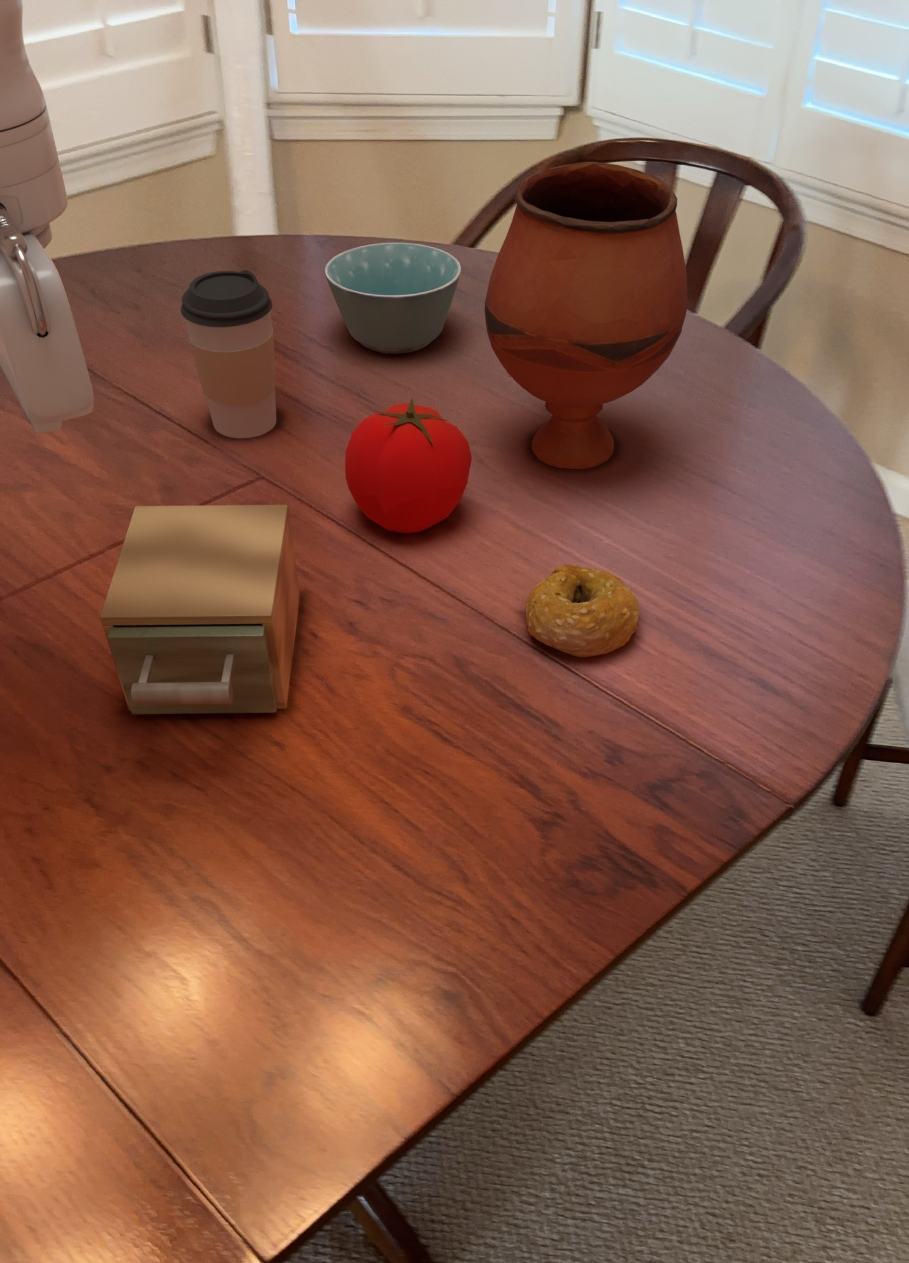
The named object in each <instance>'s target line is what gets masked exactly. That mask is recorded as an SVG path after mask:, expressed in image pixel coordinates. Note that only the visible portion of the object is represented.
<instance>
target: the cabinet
mask: <svg viewBox="0 0 909 1263" xmlns="http://www.w3.org/2000/svg"><path fill="white" fill-rule="evenodd" d="M289 512H290V510H289V505H288V504H225V505H224V504H221V505H220V504H219V505H218V504H216V505H212V504H210V505H208V504H207V505H135V506H134V509H133V512H132V515H131V518H130V522H129V525H128V528H127V531H126V534H125V537H124V540H123V544H122V547H121V550H120V553H119V556H118V560H117V563H116V566H115V569H114V572H113V575H112V579H111V581H110V585H109V587H108V590H107V594H106V598H105V600H104V604H103V607H102V610H101V613H100V616H99V619H100V622H101V625H102V628H103V631H104V635H105V638H106V641H107V645H108V648H109V651H110V654H111V658H112V660H113V663H114V667H115V670H116V673H117V676H118V679H119V683H120V685H121V689H122V693H123V695H124V699H125V703H126V705H127V708H128V711H129V712H131V710H130V707H129V704H128V700H127V697H126V694H125V691H124V687H123V684H122V681H121V678H120V675H119V671H118V668H117V665H116V662H115V658H114V655H113V652H112V649H111V646H110V642H109V639H108V636H109V632H110V629H111V627H127V625H195V624H262V626H265V630H266V636H267V642H268V648H269V654H270V660H271V666H272V672H273V678H274V684H275V690H276V696H277V702H278V703H277V710H281V709H282V710H286V709H287V706H288V699H289V690H290V682H291V675H292V674H291V673H292V666H293V657H294V650H295V643H296V642H295V641H296V633H297V625H298V617H299V607H300V602H301V592H300V586H299V578H298V571H297V563H296V556H295V548H294V541H293V540H294V539H293V535H292V534H293V532H292V526H291V517H290V513H289Z"/></svg>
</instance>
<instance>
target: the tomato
mask: <svg viewBox="0 0 909 1263" xmlns="http://www.w3.org/2000/svg"><path fill="white" fill-rule="evenodd" d="M413 399H414V398H413V397H411V399H410V401H409V403H408V402H407V403H406V402H404V403H397V404H396V403H395V404H392V405H391V406H390V407H389V408H387V409H386V410H385V411H383V412H382V411H376V410H372V412H373V414H371V415H369V416H367V417H365V418H363V419H362V420H361V421H360V422H359V423H358V424H357V426H356V427H355V429H354V430H353V432H352V433H351V435H350V438H349V440H348V443H347V446H346V449H345V452H344V453H345V455H344V472H345V473H344V474H345V480H346V485H347V488H348V490H349V493H350V494H351V496H352V498H353V500H354V502H355V504H356V505H357V506H358V507H359V509H360V510H361V512H363V513H364V515H365V516H366V517H367V519H369V520H370V521H372V522H374V524H377V525H379V526H380V527H382V528H383V529H385V530H386V531H389V532H395V533H400V534H413V533H421V532H423V531H425V530H428V529H429V528H431V527H433V526H435V525H437V524H438V523H441V522H443V521H444V520H446V519H447V518H448V517H449V516H450V514H451V513H452V512H453V511H454V509H455V508H456V507H457V506H458V505H459V503H460V502H461V500H462V497H463V495H464V492H465V490H466V488H467V485H468V483H469V477H470V471H471V465H472V460H473V457H472V452H471V447H470V442H469V440H468V439H467V438H466V436H465V435H464V434H463V433H462V431H461V430H460V429H459V427H458V426H457V425H455V424H452V423H451V422H449V421H450V420H448V419H444V418H443V416H442V415H441V414H440V412H438V411H437V410H436V409H434V408H432V407H430V406H424V405H418V404H414V400H413Z"/></svg>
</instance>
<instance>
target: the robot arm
mask: <svg viewBox="0 0 909 1263" xmlns="http://www.w3.org/2000/svg"><path fill="white" fill-rule="evenodd" d="M23 10H24V8H23V0H0V368H1V370H2V372H3V373H4V376H5V378H6V379H7V381H8V383H9V385H10V386H11V389H12V390H13V392H14V394H15V396H16V398H17V400H18V402H19V404H20V408H21V409H22V411H23V413H24V414H25V417H26V418H27V420H28V422H29V424H30V426H31V428H32V430H33V431H34V432H35V433H37V434H40V435H43V434H46V433H51V432H55V431H59V430H60V429H61V428H62V427H63V421H68V420H71V419H75V418H79V417H84V416H86V415H89V414H91V413H92V412H93V411H94V407H95V395H94V394H95V393H94V389H93V384H92V380H91V376H90V373H89V370H88V366H87V362H86V358H85V355H84V350H83V346H82V343H81V340H80V336H79V333H78V329H77V326H76V322H75V318H74V314H73V311H72V308H71V304H70V301H69V298H68V295H67V292H66V289H65V287H64V284H63V280H62V278H61V276H60V274H59V271H58V269H57V267H56V265H55V263H54V261H53V260H52V259H51V257H50V256H49V254H48V253H47V251H46V250H45V249H46V248H47V247H48V245H49V244H50V243H51V241H52V239H53V233H52V228H51V223H52V222H54V221H55V220H57V219H58V218H59V217H60V216H62V215H63V213H64V212H65V210H66V209H67V208H68V202H69V198H68V194H67V189H66V185H65V181H64V177H63V176H64V175H63V171H62V167H61V164H60V163H61V162H60V159H59V154H58V151H57V145H56V141H55V136H54V133H53V128H52V124H51V120H50V116H49V111H48V106H47V103H46V102H47V101H46V98H45V94H44V91H43V89H42V86H41V84H40V82H39V80H38V78H37V77H36V74H35V72H34V70H33V68H32V66H31V64H30V60H29V57H28V54H27V50H26V46H25V42H24V34H23V13H24V12H23Z"/></svg>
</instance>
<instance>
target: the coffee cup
mask: <svg viewBox="0 0 909 1263" xmlns="http://www.w3.org/2000/svg"><path fill="white" fill-rule="evenodd" d="M181 303H182V304H181V306H180V314H181V316H182V317H183V318H184V321H185V324H186V327H187V328H186V329H187V338H188V342H189V346H190V350H191V353H192V357H193V360H194V364H195V367H196V371H197V374H198V379H199V382H200V385H201V389H202V393H203V395H204V396H205V399H206V403H207V407H208V409H209V410H208V411H209V414H210V417H211V422H212V425H213V428H214V430H215V431H216V432H217V433H219V434H220V435H223V436H225V437H228V438H233V439H250V438H256V437H260V436H263V435H265V434H266V433H267V434H268V432H270V431H272V430H273V428H274V427H275V426H276V424H277V404H276V387H277V386H276V384H277V383H276V361H275V357H276V356H275V338H274V336H275V335H274V327H273V325H272V309H273V300H272V299H271V297H270V293H269V291H268V289H266V288H265V287H264V286H263V285H262V284H260V283H259V281H258V279H257V277H256V275H255V274H254V273H253V272H252V271H250V270H249V269H243V270H240V271H235V270H218V271H212V272H207V273H204V274H202V275H199V276H197V277H196V278H194V279H192V281H191V282H190V284H189V287H188V288H187V289H186V291H185V292H184V293H183V294H182V297H181Z"/></svg>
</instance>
